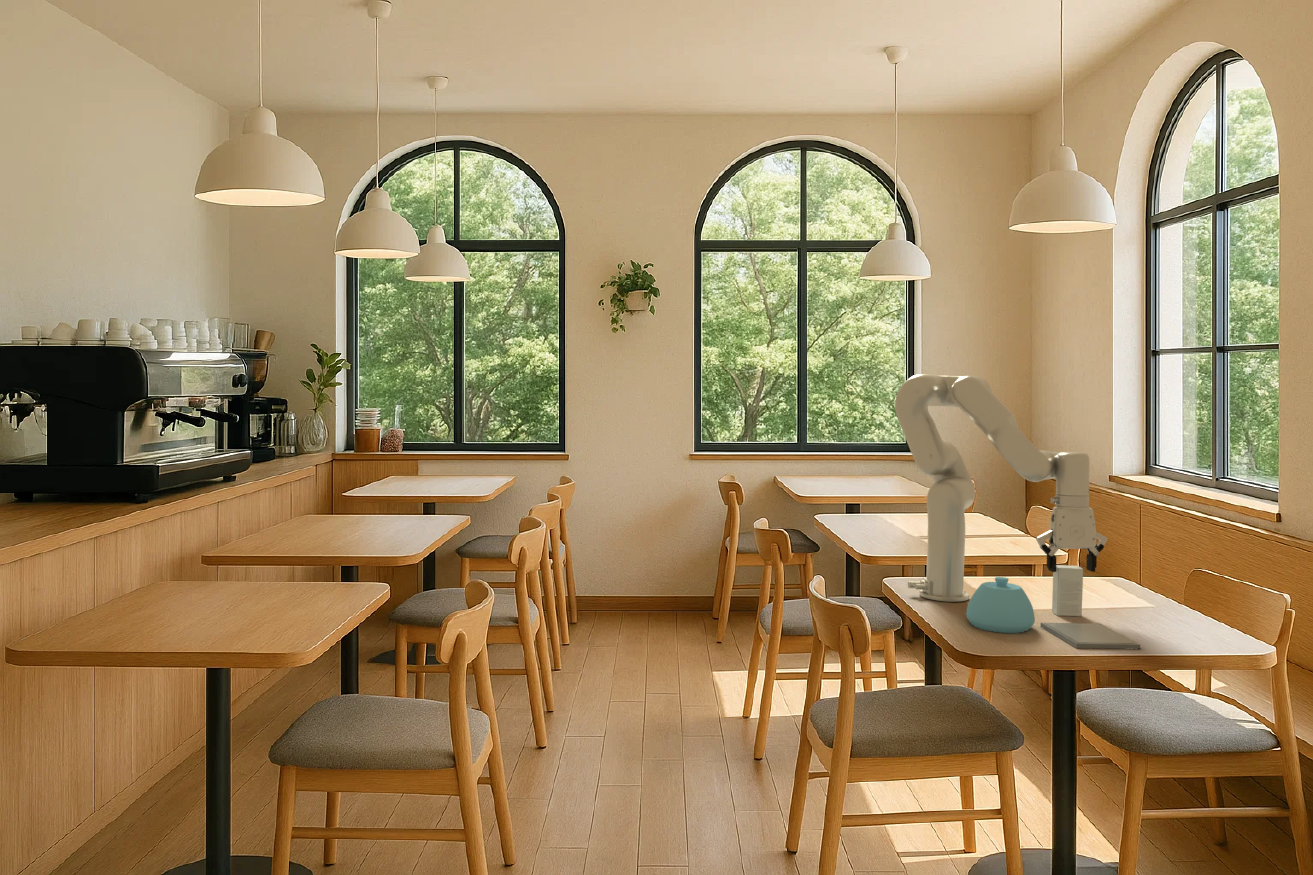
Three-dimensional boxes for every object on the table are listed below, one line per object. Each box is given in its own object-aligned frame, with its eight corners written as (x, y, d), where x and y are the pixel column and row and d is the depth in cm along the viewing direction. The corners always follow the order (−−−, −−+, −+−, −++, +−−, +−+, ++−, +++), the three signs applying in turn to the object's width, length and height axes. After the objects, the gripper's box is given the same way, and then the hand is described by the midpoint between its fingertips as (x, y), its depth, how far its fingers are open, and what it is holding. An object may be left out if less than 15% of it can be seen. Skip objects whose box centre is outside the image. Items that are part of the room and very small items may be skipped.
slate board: (1076, 648, 202) (1076, 643, 202) (1040, 626, 220) (1040, 622, 220) (1140, 649, 202) (1140, 644, 202) (1099, 627, 220) (1099, 623, 220)
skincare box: (1075, 612, 235) (1078, 565, 234) (1081, 616, 231) (1084, 568, 230) (1050, 611, 236) (1052, 564, 235) (1056, 615, 231) (1058, 567, 231)
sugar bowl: (952, 621, 224) (954, 573, 223) (1002, 616, 230) (1004, 569, 229) (996, 637, 210) (999, 586, 209) (1048, 632, 216) (1050, 582, 215)
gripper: (1043, 503, 228) (1043, 574, 228) (1114, 503, 228) (1113, 573, 229) (1031, 500, 235) (1030, 568, 236) (1099, 500, 235) (1098, 568, 236)
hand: (1071, 570), depth 232 cm, fingers open, 9 cm apart
